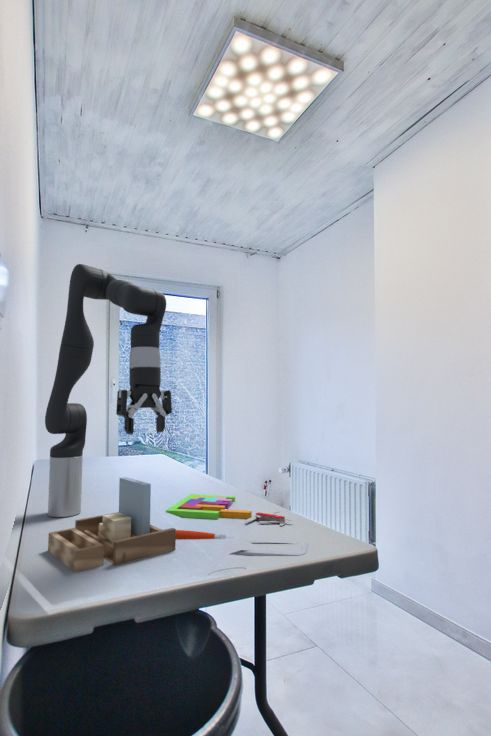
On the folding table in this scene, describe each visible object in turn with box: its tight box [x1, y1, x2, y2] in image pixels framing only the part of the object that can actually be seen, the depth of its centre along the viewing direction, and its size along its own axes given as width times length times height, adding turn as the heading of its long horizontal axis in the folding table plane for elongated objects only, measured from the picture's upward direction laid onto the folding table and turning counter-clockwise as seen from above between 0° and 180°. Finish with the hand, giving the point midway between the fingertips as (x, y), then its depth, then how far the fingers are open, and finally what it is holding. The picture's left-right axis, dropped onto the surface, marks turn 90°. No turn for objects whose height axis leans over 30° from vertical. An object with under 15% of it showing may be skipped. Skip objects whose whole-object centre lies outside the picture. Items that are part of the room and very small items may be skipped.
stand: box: [47, 527, 104, 573], centre depth 90 cm, size 16×7×5 cm, turn 42°
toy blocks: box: [165, 493, 253, 520], centre depth 136 cm, size 23×2×25 cm
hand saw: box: [176, 529, 309, 557], centre depth 100 cm, size 33×3×10 cm
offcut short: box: [102, 512, 131, 531], centre depth 97 cm, size 6×4×2 cm, turn 42°
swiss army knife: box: [244, 511, 293, 527], centre depth 121 cm, size 12×14×2 cm
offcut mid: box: [99, 523, 131, 542], centre depth 98 cm, size 8×4×2 cm, turn 42°
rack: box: [74, 511, 177, 566], centre depth 99 cm, size 22×14×6 cm, turn 42°
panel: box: [118, 476, 152, 536], centre depth 101 cm, size 12×2×14 cm, turn 42°
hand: (145, 432), depth 104 cm, fingers open, 8 cm apart
